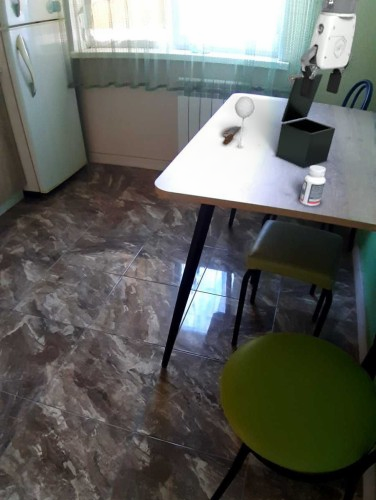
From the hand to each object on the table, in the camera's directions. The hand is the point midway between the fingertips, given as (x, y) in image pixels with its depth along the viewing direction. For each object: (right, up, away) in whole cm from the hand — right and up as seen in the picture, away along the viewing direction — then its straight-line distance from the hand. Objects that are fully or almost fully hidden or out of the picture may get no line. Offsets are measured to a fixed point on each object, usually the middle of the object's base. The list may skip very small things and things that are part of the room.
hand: (318, 94), depth 101 cm
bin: (+4, -3, +29) cm, 30 cm away
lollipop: (-15, +3, +35) cm, 38 cm away
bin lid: (+2, +11, +21) cm, 23 cm away
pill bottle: (0, -24, +7) cm, 25 cm away
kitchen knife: (-18, +11, +43) cm, 48 cm away
